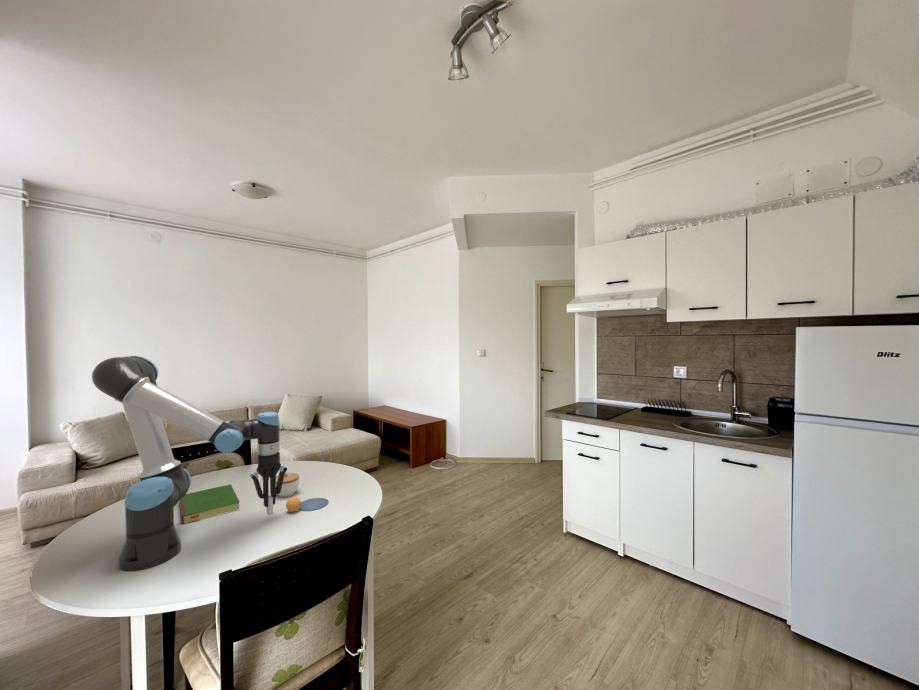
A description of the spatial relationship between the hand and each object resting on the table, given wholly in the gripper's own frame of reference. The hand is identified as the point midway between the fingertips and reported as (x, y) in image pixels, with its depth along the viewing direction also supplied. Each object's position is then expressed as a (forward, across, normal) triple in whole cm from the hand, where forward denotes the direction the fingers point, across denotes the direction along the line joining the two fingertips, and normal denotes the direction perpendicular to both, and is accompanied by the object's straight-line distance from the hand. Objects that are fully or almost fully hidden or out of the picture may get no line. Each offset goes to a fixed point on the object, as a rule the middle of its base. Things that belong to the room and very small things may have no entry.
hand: (269, 513), depth 141 cm
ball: (-1, +9, 0) cm, 9 cm away
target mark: (+2, +17, 0) cm, 17 cm away
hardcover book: (+3, -14, +30) cm, 33 cm away
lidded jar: (+2, +13, +19) cm, 23 cm away
